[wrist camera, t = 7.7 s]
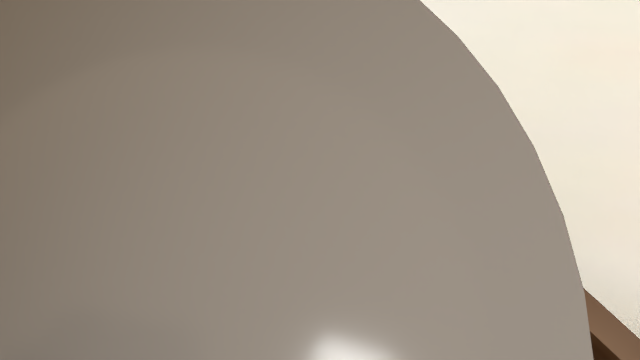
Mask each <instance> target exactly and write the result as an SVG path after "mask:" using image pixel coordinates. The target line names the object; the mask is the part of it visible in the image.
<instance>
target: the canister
mask: <svg viewBox="0 0 640 360" xmlns="http://www.w3.org/2000/svg"><path fill="white" fill-rule="evenodd" d="M0 360H594V359H593V352H592V344H591V337H590V330H589V322H588V315H587V308H586V300H585V293H584V289H583V286H582V282H581V278H580V275H579V271H578V267H577V264H576V260H575V256H574V253H573V249H572V246H571V242H570V238H569V235H568V231H567V227H566V224H565V220H564V216H563V214H562V211H561V209H560V207H559V204H558V202H557V200H556V197H555V195H554V193H553V190H552V188H551V186H550V183H549V181H548V178H547V176H546V174H545V171H544V169H543V167H542V164H541V162H540V160H539V157H538V155H537V153H536V150H535V148H534V146H533V144H532V143H531V141H530V139H529V138H528V136H527V134H526V132H525V131H524V129H523V127H522V126H521V124H520V122H519V121H518V119H517V117H516V116H515V114H514V112H513V111H512V109H511V107H510V106H509V104H508V102H507V101H506V99H505V97H504V96H503V94H502V92H501V91H500V89H499V87H498V86H497V85H496V83H495V82H494V81H493V80H492V78H491V77H490V76H489V75H488V73H487V72H486V71H485V70H484V68H483V67H482V66H481V65H480V63H479V62H478V61H477V60H476V58H475V57H474V56H473V55H472V53H471V52H470V51H469V50H468V48H467V47H466V46H465V45H464V43H463V42H462V41H461V40H460V39H459V37H458V36H457V35H456V34H455V33H454V32H453V31H452V30H451V29H450V28H448V27H447V26H446V25H445V24H444V23H443V22H442V21H441V20H440V19H439V18H438V17H437V16H436V15H435V14H434V13H433V12H432V11H430V10H429V9H428V8H427V7H426V6H425V5H424V4H423V3H422V2H421V1H420V0H0Z"/></svg>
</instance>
